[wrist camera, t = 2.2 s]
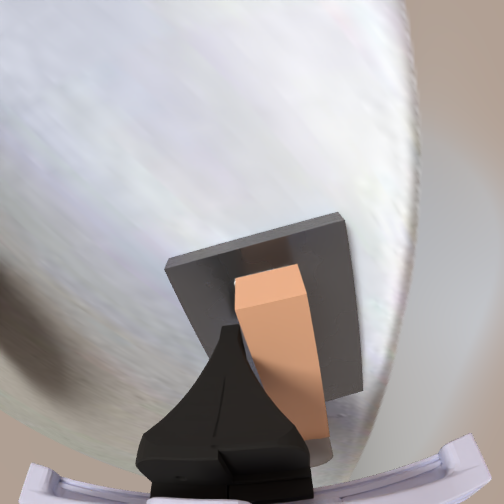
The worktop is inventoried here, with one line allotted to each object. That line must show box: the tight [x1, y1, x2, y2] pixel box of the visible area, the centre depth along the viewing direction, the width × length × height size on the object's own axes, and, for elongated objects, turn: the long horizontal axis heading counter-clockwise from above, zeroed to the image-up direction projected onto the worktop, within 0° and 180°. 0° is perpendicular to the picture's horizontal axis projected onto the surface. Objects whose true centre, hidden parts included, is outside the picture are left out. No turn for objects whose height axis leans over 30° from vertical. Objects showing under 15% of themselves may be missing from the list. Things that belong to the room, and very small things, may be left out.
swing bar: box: [235, 264, 333, 468], centre depth 14 cm, size 12×2×4 cm, turn 14°
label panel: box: [164, 212, 363, 401], centre depth 16 cm, size 12×8×1 cm, turn 16°
